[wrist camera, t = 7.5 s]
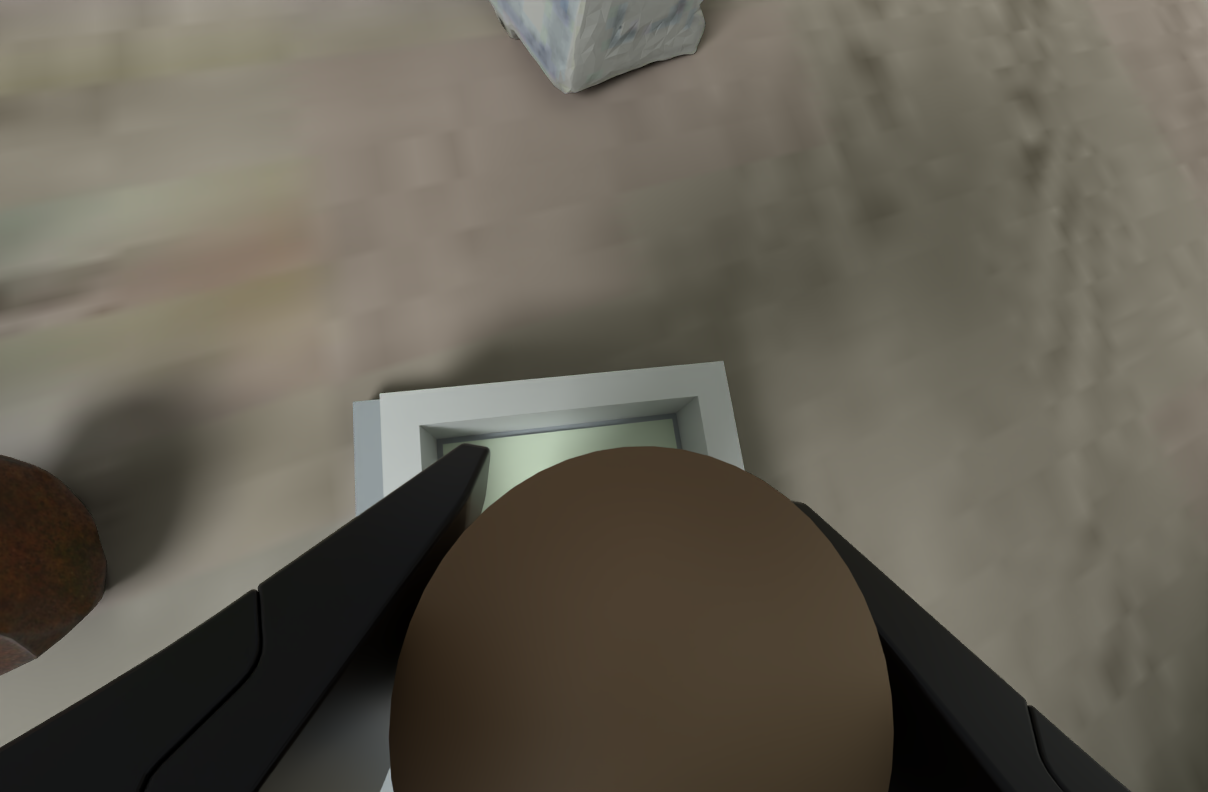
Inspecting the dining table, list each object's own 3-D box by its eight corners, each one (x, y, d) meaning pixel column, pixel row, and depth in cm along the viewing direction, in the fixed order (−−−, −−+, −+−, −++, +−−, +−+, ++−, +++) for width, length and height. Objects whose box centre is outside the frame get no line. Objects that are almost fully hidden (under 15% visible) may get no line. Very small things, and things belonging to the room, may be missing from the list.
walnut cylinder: (677, 618, 15) (988, 797, 5) (542, 703, 14) (540, 1183, 4) (605, 484, 16) (729, 372, 5) (472, 556, 15) (306, 593, 4)
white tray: (772, 765, 16) (832, 828, 13) (377, 853, 15) (328, 954, 11) (700, 375, 19) (735, 344, 16) (363, 408, 17) (321, 381, 14)
